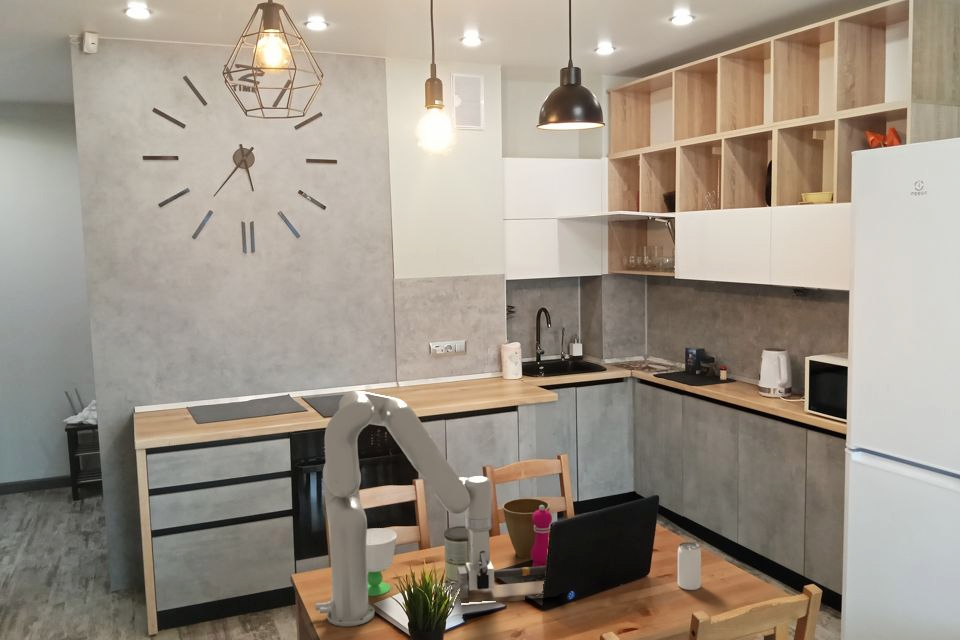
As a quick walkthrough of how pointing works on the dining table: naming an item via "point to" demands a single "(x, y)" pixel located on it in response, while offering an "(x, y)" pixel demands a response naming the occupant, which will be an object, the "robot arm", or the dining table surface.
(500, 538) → the dining table surface
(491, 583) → the white cubic block
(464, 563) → the coffee can
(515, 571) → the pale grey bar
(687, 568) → the can
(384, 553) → the cup
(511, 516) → the plant pot
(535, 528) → the pepper mill
